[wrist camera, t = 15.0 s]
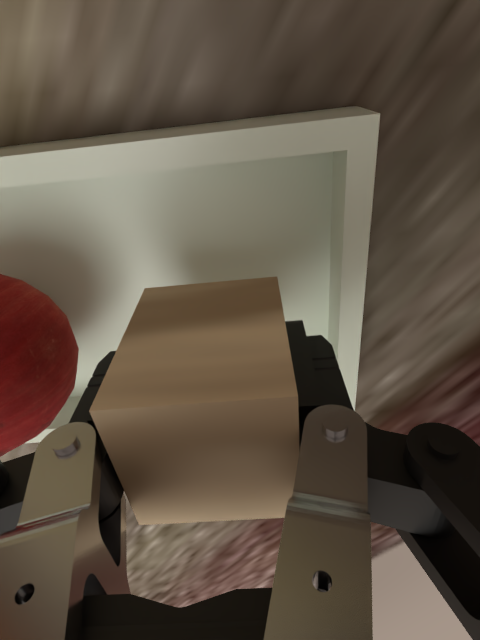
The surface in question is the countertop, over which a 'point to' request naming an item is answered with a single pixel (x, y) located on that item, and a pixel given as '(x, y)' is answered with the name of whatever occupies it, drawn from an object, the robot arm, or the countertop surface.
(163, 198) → the tray
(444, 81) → the countertop surface
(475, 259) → the countertop surface
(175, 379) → the maple block
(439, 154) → the countertop surface
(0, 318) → the pomegranate
